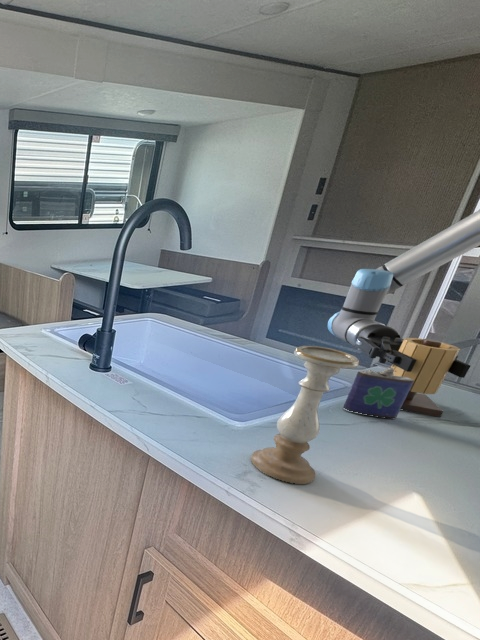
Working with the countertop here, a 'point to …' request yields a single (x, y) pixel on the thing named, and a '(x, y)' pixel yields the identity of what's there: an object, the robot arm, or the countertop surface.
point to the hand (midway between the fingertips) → (438, 368)
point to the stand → (421, 401)
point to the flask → (378, 393)
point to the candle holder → (302, 417)
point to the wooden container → (426, 364)
